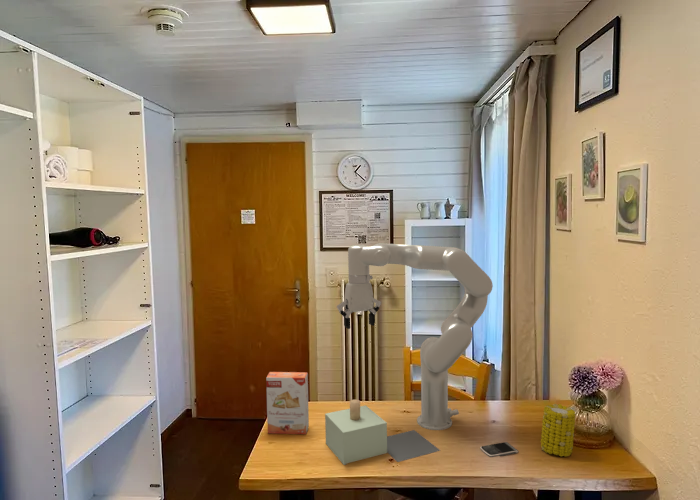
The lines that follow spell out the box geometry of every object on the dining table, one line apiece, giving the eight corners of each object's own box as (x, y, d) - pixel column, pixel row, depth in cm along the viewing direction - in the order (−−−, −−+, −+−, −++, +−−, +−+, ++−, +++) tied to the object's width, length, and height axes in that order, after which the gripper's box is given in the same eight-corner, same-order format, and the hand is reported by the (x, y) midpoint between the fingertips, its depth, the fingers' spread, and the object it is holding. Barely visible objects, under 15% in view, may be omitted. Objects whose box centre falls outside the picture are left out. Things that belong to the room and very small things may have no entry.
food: (535, 452, 155) (559, 448, 158) (561, 461, 144) (587, 457, 147) (530, 404, 157) (554, 401, 160) (556, 409, 146) (581, 406, 149)
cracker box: (267, 434, 167) (265, 376, 165) (271, 426, 173) (269, 371, 171) (306, 435, 166) (305, 377, 164) (309, 427, 172) (307, 371, 170)
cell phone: (478, 450, 154) (478, 446, 154) (507, 445, 158) (508, 441, 157) (489, 460, 149) (489, 455, 148) (519, 454, 152) (519, 450, 152)
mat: (414, 431, 168) (414, 429, 168) (440, 451, 153) (440, 450, 153) (373, 440, 161) (373, 439, 161) (397, 463, 147) (397, 462, 147)
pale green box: (366, 434, 166) (365, 389, 165) (387, 453, 152) (386, 405, 151) (325, 443, 160) (324, 397, 159) (343, 465, 146) (342, 415, 145)
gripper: (375, 276, 177) (376, 321, 179) (332, 280, 170) (333, 327, 171) (385, 279, 170) (385, 325, 172) (341, 282, 163) (342, 331, 165)
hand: (359, 326), depth 172 cm, fingers open, 9 cm apart
